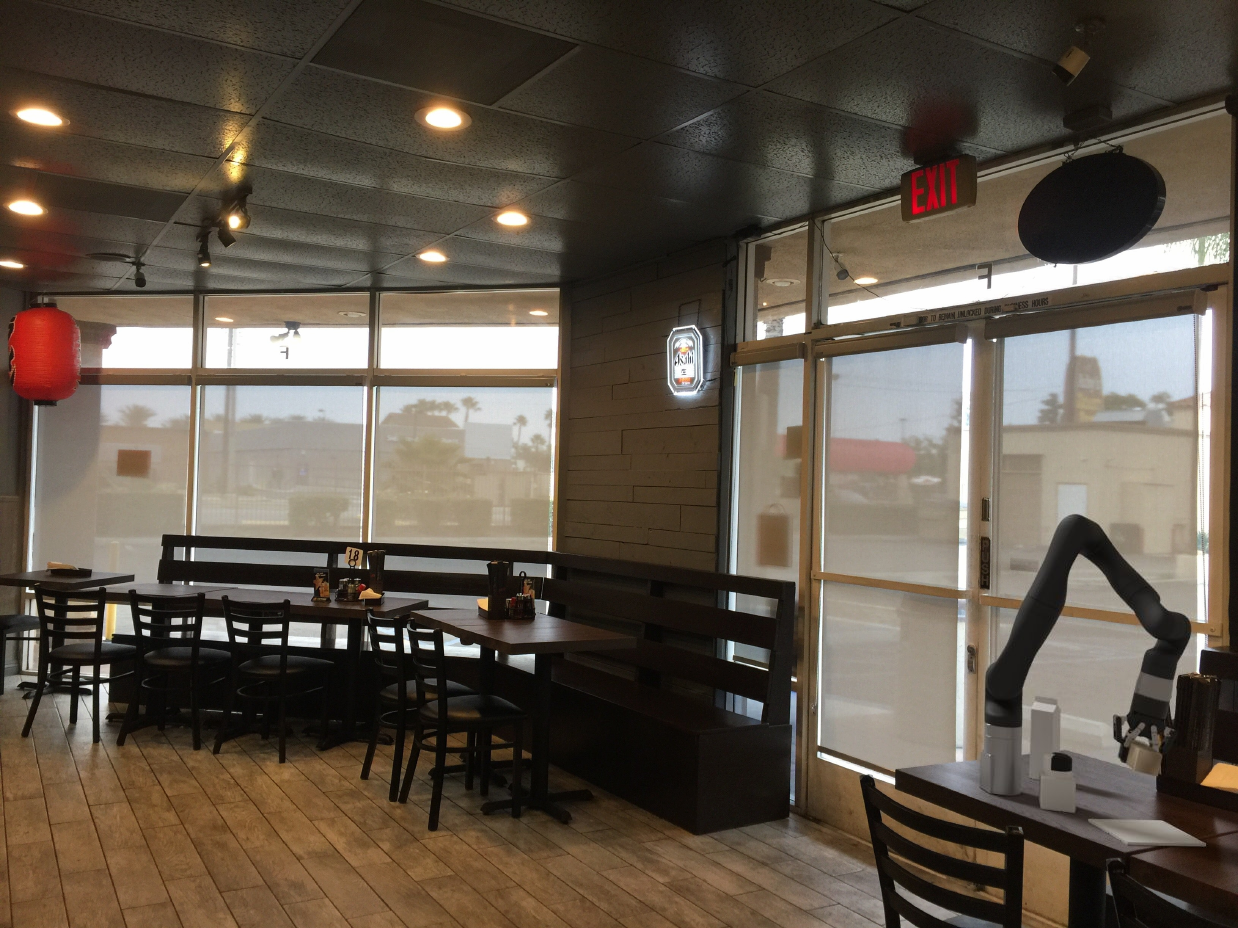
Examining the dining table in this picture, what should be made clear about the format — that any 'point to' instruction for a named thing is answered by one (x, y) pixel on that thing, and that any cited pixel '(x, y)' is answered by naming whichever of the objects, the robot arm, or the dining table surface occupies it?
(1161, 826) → the mat
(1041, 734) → the milk
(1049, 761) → the container
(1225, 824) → the dining table surface
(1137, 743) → the block
